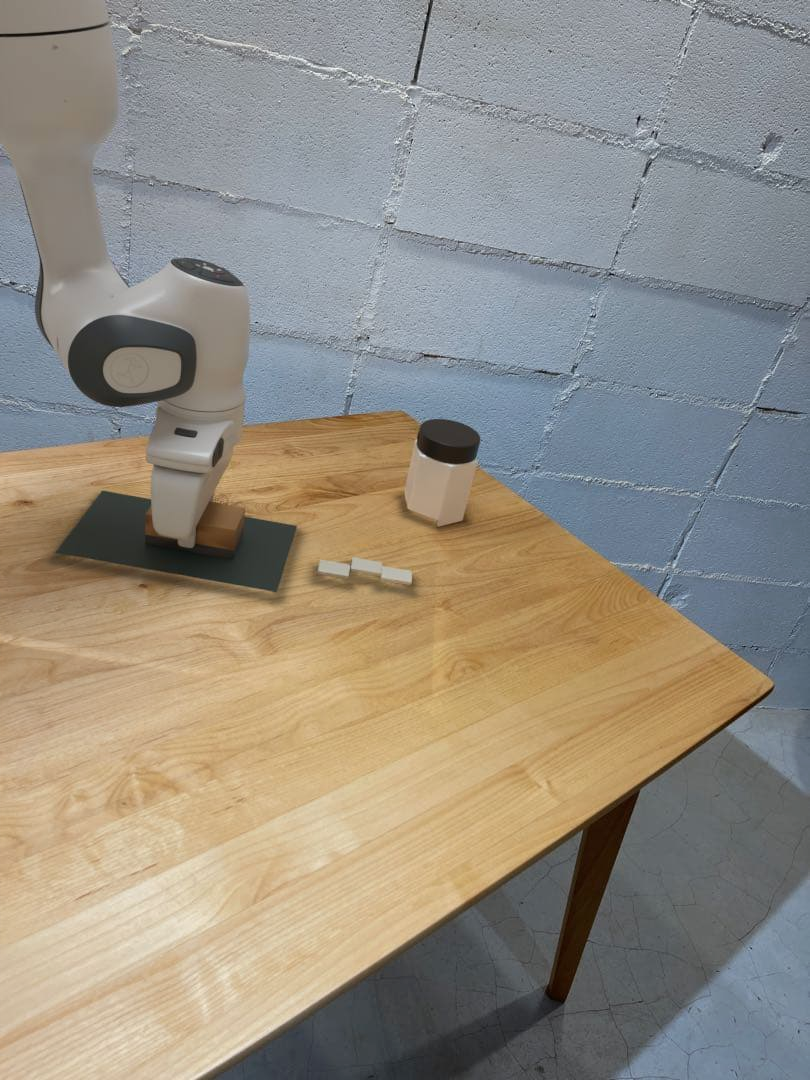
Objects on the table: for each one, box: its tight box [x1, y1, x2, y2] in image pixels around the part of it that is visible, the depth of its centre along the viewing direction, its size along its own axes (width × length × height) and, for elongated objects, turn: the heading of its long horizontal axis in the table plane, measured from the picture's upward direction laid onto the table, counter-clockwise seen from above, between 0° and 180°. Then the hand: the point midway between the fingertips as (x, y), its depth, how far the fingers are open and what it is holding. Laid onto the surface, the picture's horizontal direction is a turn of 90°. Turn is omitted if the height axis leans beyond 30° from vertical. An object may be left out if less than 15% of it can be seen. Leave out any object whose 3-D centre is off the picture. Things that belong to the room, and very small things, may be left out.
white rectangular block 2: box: [350, 556, 383, 577], centre depth 96 cm, size 4×2×2 cm, turn 89°
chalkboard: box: [54, 490, 298, 593], centre depth 94 cm, size 24×14×1 cm, turn 87°
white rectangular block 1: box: [316, 559, 351, 580], centre depth 94 cm, size 4×2×2 cm, turn 88°
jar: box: [403, 418, 481, 528], centre depth 109 cm, size 9×8×12 cm
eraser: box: [145, 501, 246, 559], centre depth 93 cm, size 10×5×4 cm, turn 87°
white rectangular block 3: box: [380, 565, 413, 586], centre depth 95 cm, size 4×2×2 cm, turn 89°
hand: (195, 529), depth 93 cm, fingers closed on eraser, 5 cm apart
